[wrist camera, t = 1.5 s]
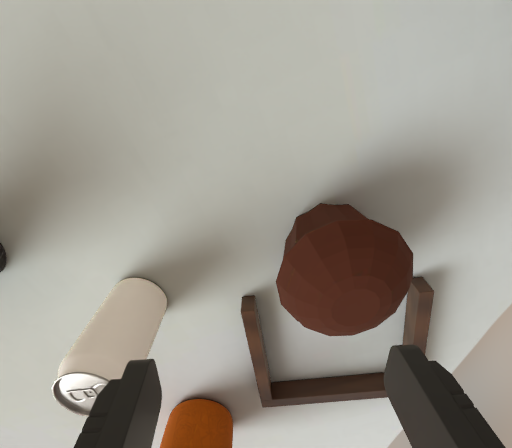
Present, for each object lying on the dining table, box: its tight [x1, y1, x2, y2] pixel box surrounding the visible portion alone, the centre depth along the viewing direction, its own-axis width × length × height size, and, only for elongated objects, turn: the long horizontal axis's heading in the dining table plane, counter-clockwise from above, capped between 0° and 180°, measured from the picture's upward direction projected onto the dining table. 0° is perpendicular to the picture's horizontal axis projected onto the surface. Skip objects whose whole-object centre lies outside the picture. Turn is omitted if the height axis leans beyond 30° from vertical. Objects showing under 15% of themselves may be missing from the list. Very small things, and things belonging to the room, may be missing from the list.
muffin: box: [276, 203, 413, 336], centre depth 27 cm, size 12×11×10 cm
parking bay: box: [241, 277, 434, 407], centre depth 36 cm, size 17×20×2 cm
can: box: [52, 278, 167, 417], centre depth 29 cm, size 6×6×12 cm
